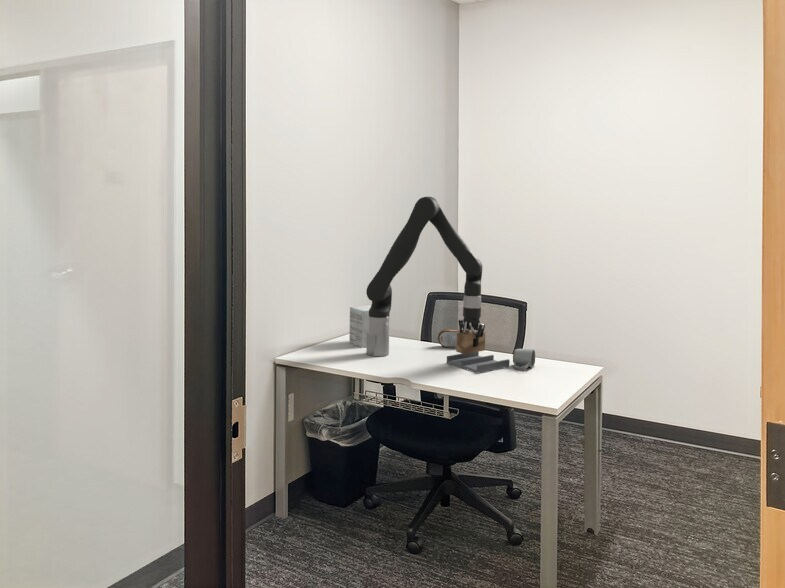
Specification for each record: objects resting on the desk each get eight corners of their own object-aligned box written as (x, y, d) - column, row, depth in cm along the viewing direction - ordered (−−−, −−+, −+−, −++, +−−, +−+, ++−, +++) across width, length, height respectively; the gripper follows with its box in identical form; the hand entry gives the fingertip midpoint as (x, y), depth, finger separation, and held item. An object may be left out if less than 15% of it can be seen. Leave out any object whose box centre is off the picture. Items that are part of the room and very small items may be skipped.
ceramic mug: (516, 363, 263) (516, 345, 261) (535, 365, 259) (536, 347, 258) (509, 369, 253) (510, 351, 252) (529, 371, 250) (530, 353, 248)
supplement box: (372, 339, 303) (372, 304, 301) (386, 345, 292) (387, 308, 290) (348, 342, 296) (349, 306, 294) (362, 348, 285) (362, 310, 283)
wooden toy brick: (484, 350, 263) (485, 332, 262) (464, 354, 256) (465, 335, 254) (476, 348, 267) (477, 330, 266) (456, 351, 259) (456, 333, 258)
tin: (469, 347, 291) (470, 329, 290) (469, 348, 288) (470, 331, 287) (437, 345, 293) (438, 328, 291) (437, 347, 290) (438, 329, 288)
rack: (478, 373, 245) (478, 365, 245) (446, 363, 260) (446, 356, 260) (509, 366, 256) (509, 359, 256) (476, 357, 271) (477, 350, 271)
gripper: (453, 304, 262) (452, 343, 264) (477, 309, 250) (476, 349, 253) (466, 303, 266) (465, 341, 269) (490, 307, 255) (489, 347, 257)
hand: (470, 345), depth 261 cm, fingers closed on wooden toy brick, 5 cm apart
